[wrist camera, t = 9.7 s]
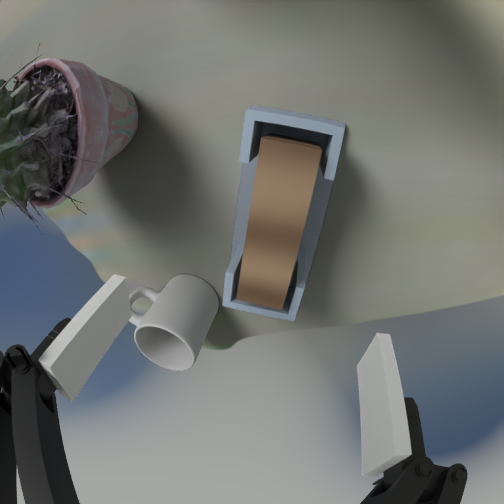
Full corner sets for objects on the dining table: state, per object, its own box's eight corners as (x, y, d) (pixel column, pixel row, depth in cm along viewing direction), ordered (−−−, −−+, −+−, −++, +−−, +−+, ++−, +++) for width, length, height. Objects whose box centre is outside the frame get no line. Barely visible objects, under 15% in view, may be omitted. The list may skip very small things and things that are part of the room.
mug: (227, 290, 39) (204, 346, 29) (209, 326, 43) (186, 379, 34) (153, 253, 38) (112, 298, 29) (143, 293, 43) (109, 338, 33)
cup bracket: (252, 105, 27) (231, 102, 19) (344, 123, 26) (361, 126, 18) (231, 263, 37) (211, 306, 29) (306, 279, 36) (304, 326, 28)
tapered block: (270, 132, 24) (261, 138, 19) (317, 142, 24) (322, 150, 19) (248, 267, 32) (236, 299, 26) (286, 276, 31) (282, 310, 26)
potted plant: (144, 213, 35) (5, 336, 14) (55, 151, 33) (-76, 214, 11) (206, 90, 27) (-5, 87, 5) (94, 42, 24) (-67, 46, 3)
